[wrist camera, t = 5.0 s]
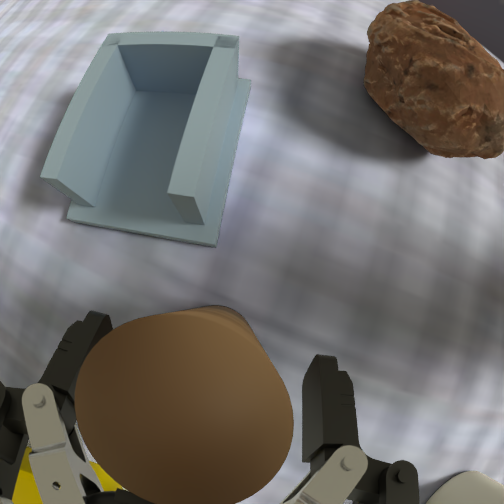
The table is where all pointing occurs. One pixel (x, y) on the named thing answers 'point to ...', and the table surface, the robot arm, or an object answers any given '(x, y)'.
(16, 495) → the element tile
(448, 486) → the milk bottle
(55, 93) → the table surface
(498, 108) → the decorative rock
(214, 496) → the walnut peg
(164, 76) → the slate bracket
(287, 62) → the table surface
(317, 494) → the robot arm
